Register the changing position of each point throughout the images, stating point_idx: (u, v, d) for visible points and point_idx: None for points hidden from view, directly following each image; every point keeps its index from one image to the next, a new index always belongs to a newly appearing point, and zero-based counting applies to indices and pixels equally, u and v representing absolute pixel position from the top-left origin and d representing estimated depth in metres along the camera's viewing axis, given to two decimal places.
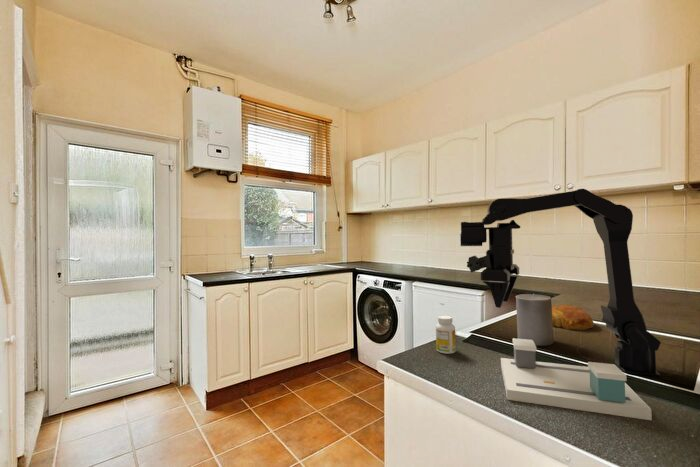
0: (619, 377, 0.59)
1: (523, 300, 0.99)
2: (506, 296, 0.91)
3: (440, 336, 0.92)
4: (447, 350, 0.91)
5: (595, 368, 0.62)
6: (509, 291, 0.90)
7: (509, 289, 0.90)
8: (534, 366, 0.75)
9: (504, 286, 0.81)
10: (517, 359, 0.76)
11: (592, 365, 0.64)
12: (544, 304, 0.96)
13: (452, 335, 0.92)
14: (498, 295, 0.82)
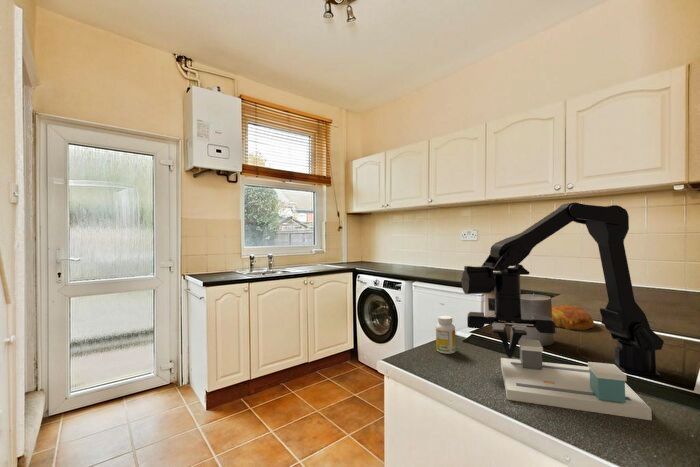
0: (619, 377, 0.59)
1: (523, 300, 0.99)
2: None
3: (440, 336, 0.92)
4: (447, 350, 0.91)
5: (595, 368, 0.62)
6: (510, 347, 0.78)
7: (510, 345, 0.78)
8: (541, 366, 0.74)
9: None
10: (523, 360, 0.76)
11: (592, 365, 0.64)
12: (544, 304, 0.96)
13: (452, 335, 0.92)
14: None
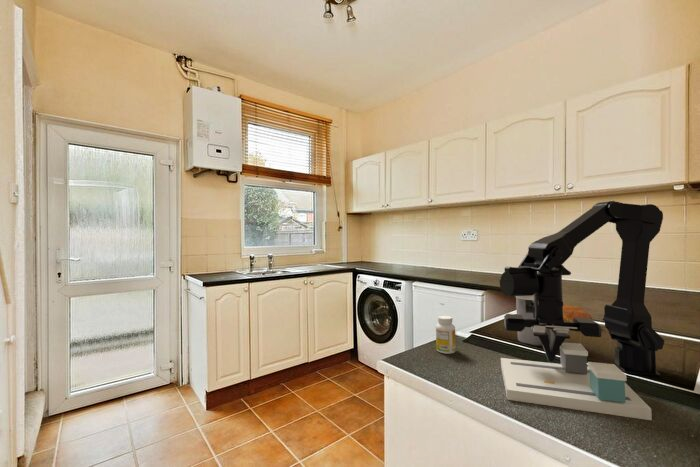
0: (619, 377, 0.59)
1: (523, 300, 0.99)
2: None
3: (440, 336, 0.92)
4: (447, 350, 0.91)
5: (595, 368, 0.62)
6: (551, 351, 0.75)
7: (552, 348, 0.75)
8: (586, 371, 0.71)
9: None
10: (567, 364, 0.72)
11: (592, 365, 0.64)
12: None
13: (452, 335, 0.92)
14: (543, 347, 0.76)
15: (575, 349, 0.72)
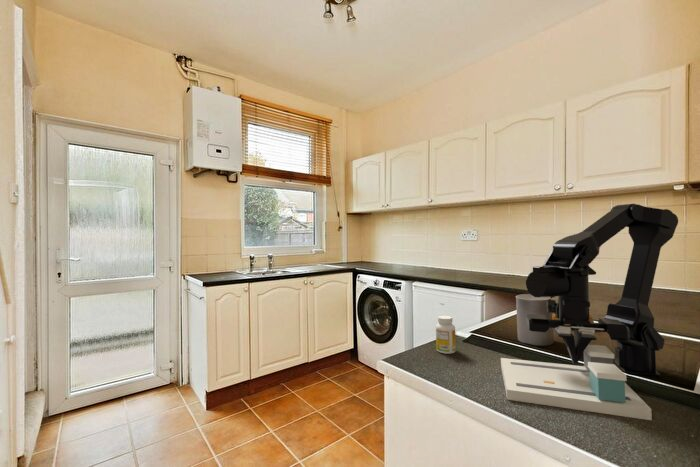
0: (619, 377, 0.59)
1: (523, 300, 0.99)
2: None
3: (440, 336, 0.92)
4: (447, 350, 0.91)
5: (595, 368, 0.62)
6: (576, 352, 0.73)
7: (576, 350, 0.73)
8: None
9: None
10: None
11: (592, 365, 0.64)
12: (544, 304, 0.96)
13: (452, 335, 0.92)
14: (568, 348, 0.74)
15: (601, 351, 0.71)
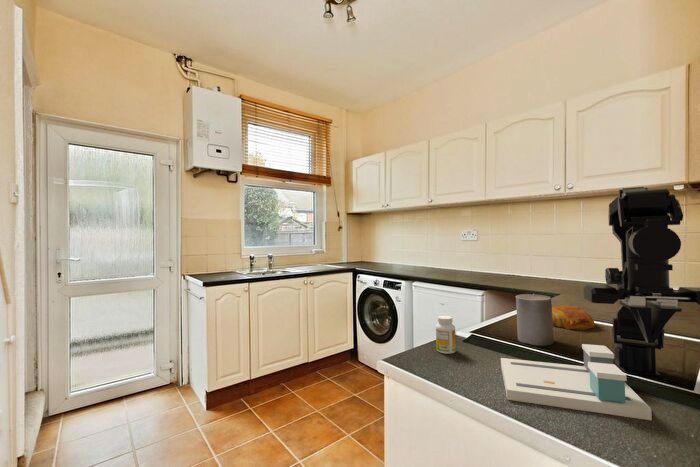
0: (619, 377, 0.59)
1: (523, 300, 0.99)
2: None
3: (440, 336, 0.92)
4: (447, 350, 0.91)
5: (595, 368, 0.62)
6: (653, 328, 0.59)
7: (653, 325, 0.59)
8: None
9: (639, 312, 0.59)
10: None
11: (592, 365, 0.64)
12: (544, 304, 0.96)
13: (452, 335, 0.92)
14: (641, 324, 0.60)
15: (600, 351, 0.71)
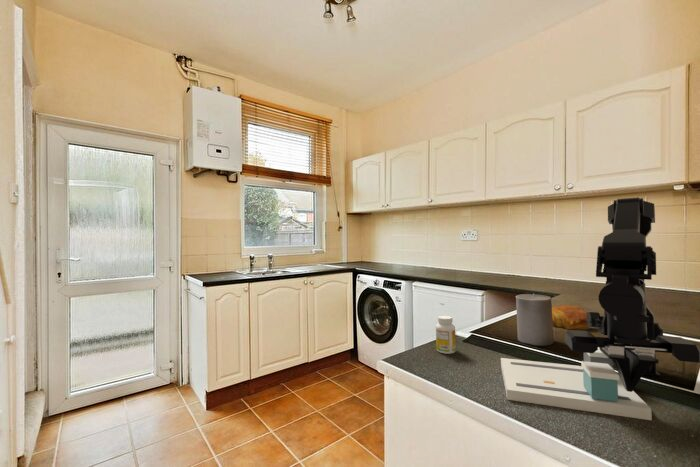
0: (612, 376, 0.60)
1: (523, 300, 0.99)
2: None
3: (440, 336, 0.92)
4: (447, 350, 0.91)
5: (589, 367, 0.63)
6: (631, 378, 0.60)
7: (632, 375, 0.60)
8: None
9: None
10: None
11: (585, 364, 0.64)
12: (544, 304, 0.96)
13: (452, 335, 0.92)
14: (620, 372, 0.61)
15: (600, 351, 0.71)
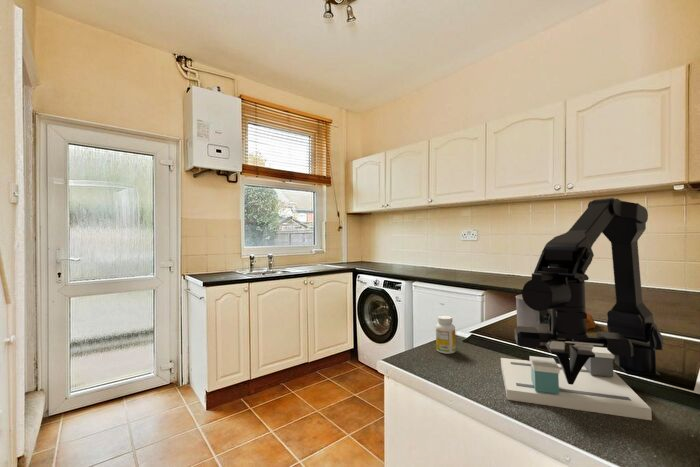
0: (553, 370, 0.63)
1: (523, 300, 0.99)
2: None
3: (440, 336, 0.92)
4: (447, 350, 0.91)
5: (534, 361, 0.66)
6: (572, 371, 0.63)
7: (572, 368, 0.63)
8: (612, 374, 0.69)
9: None
10: (592, 367, 0.71)
11: (532, 359, 0.67)
12: None
13: (452, 335, 0.92)
14: (562, 366, 0.64)
15: (600, 351, 0.71)
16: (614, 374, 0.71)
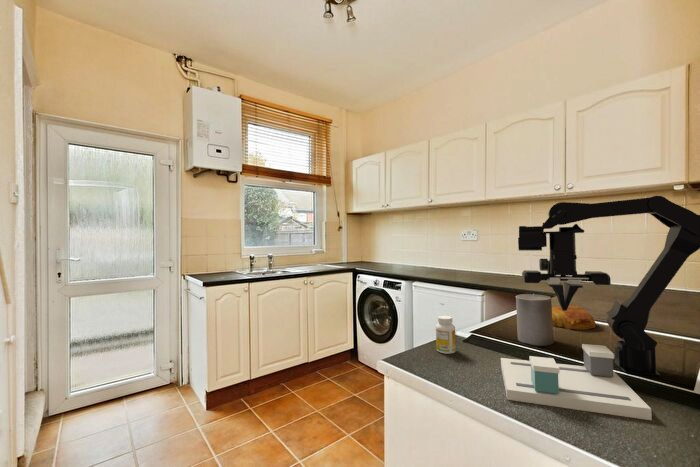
0: (553, 370, 0.63)
1: (523, 300, 0.99)
2: None
3: (440, 336, 0.92)
4: (447, 350, 0.91)
5: (534, 361, 0.66)
6: (565, 300, 0.84)
7: (566, 298, 0.84)
8: (612, 374, 0.69)
9: None
10: (592, 367, 0.71)
11: (532, 359, 0.67)
12: (544, 304, 0.96)
13: (452, 335, 0.92)
14: (558, 297, 0.85)
15: (600, 351, 0.71)
16: (614, 374, 0.71)
